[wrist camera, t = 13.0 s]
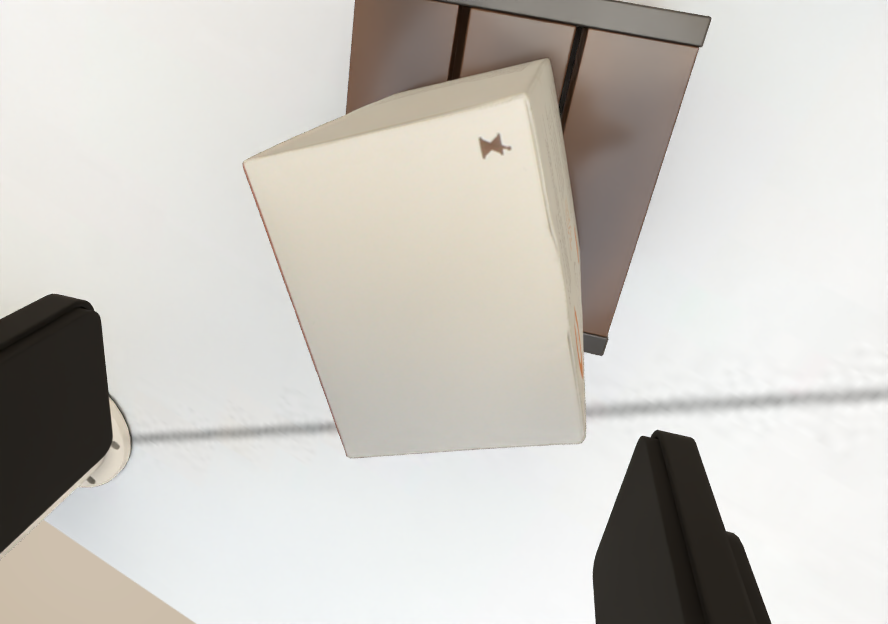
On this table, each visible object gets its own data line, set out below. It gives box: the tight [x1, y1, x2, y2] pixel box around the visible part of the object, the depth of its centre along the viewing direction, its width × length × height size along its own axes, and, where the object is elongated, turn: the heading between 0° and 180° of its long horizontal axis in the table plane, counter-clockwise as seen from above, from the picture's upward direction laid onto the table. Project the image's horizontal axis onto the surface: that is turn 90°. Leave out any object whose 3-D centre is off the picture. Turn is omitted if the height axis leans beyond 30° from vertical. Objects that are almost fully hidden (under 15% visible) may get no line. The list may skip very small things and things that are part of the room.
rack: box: [346, 0, 711, 356], centre depth 30 cm, size 13×14×12 cm
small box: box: [243, 58, 586, 458], centre depth 19 cm, size 8×6×13 cm
